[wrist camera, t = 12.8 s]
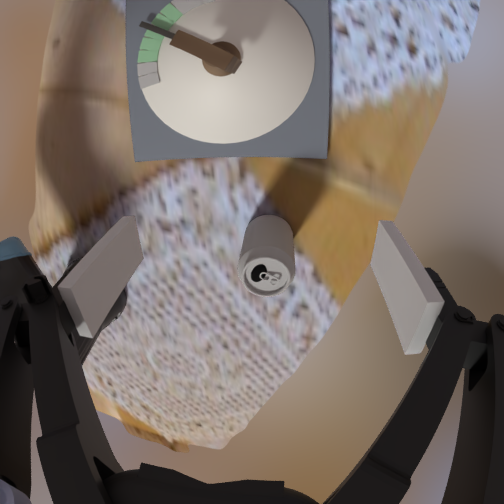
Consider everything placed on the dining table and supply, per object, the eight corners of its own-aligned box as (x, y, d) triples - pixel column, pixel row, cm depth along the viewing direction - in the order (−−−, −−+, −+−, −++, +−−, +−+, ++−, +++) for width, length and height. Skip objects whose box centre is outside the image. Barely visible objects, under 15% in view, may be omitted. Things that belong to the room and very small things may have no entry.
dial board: (138, 160, 43) (133, 162, 41) (129, -8, 28) (124, -10, 27) (325, 157, 41) (327, 159, 39) (325, -25, 26) (326, -29, 25)
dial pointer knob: (232, 85, 35) (215, 84, 25) (135, 39, 32) (91, 30, 22) (252, 55, 33) (243, 42, 23) (152, 10, 29) (113, -8, 19)
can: (256, 204, 45) (248, 243, 35) (300, 223, 46) (306, 266, 36) (238, 244, 49) (227, 290, 39) (280, 260, 50) (280, 309, 40)
